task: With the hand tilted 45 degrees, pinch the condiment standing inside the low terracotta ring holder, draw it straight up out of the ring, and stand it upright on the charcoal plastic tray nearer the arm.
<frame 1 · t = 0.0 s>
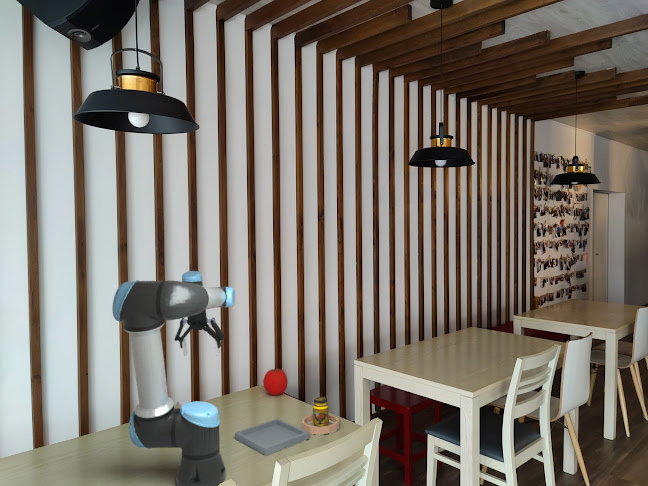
hand: (201, 354, 200), 28 cm above the table, tool tilted 20°, fingers open, 13 cm apart
tray: (272, 439, 181), on the table
tomato: (275, 395, 233), on the table
white carton: (180, 428, 193), on the table
condiment: (320, 428, 191), resting in ring holder
ring holder: (320, 427, 191), on the table
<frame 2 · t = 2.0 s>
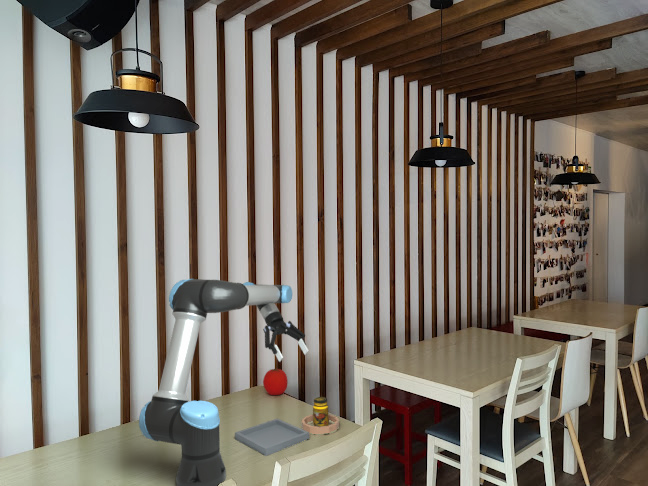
hand: (294, 356, 201), 26 cm above the table, tool tilted 45°, fingers open, 13 cm apart
nothing on the table moved.
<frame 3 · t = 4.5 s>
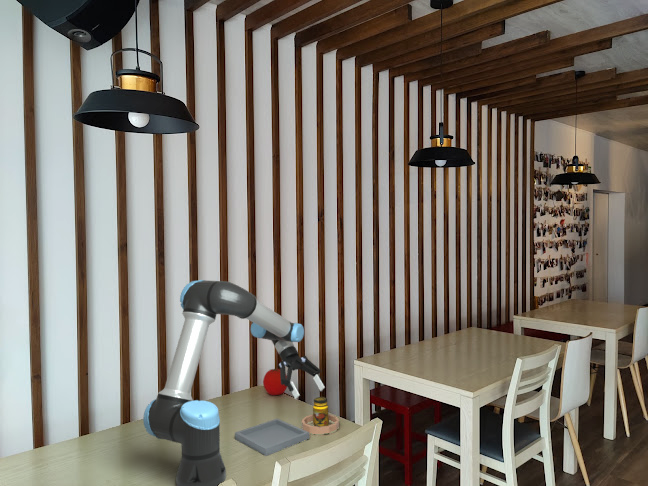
hand: (310, 393, 196), 12 cm above the table, tool tilted 45°, fingers open, 13 cm apart
nothing on the table moved.
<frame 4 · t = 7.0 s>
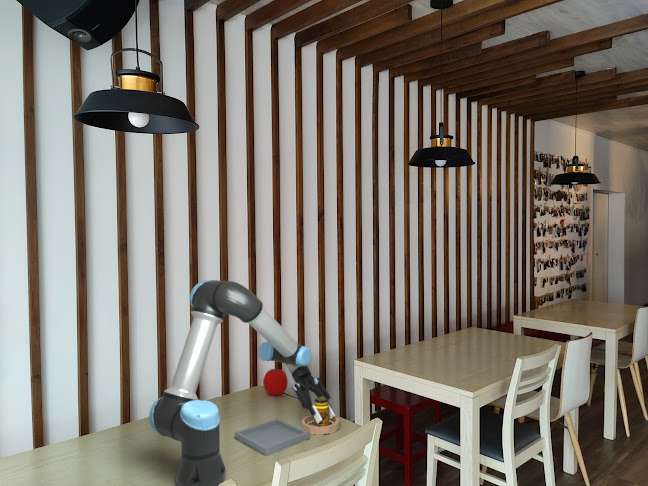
hand: (326, 419, 188), 4 cm above the table, tool tilted 45°, fingers closed on condiment, 6 cm apart
condiment: (320, 428, 191), resting in ring holder, touching gripper
everything else where it was.
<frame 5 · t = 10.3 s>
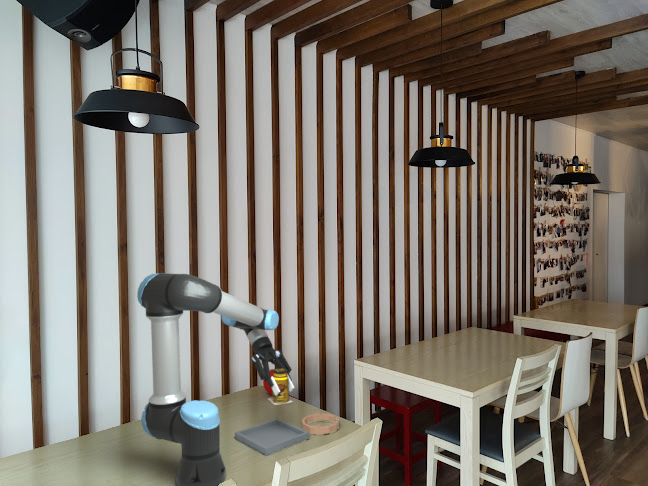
hand: (285, 391, 180), 18 cm above the table, tool tilted 45°, fingers closed on condiment, 6 cm apart
condiment: (280, 401, 183), point 14 cm above the table, touching gripper
everything else where it was.
when the fingers open (7 cm above the table, at t = 13.2 s): condiment drops 1 cm, resting on tray.
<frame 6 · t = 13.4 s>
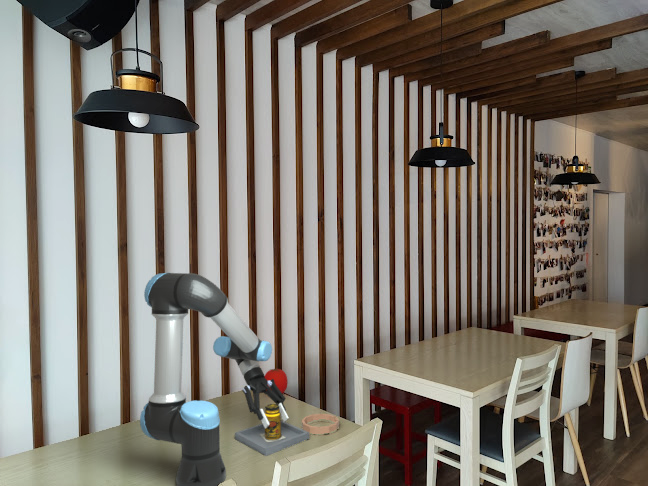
hand: (277, 423, 178), 7 cm above the table, tool tilted 45°, fingers open, 8 cm apart
condiment: (272, 437, 181), point 1 cm above the table, touching tray
everything else where it was.
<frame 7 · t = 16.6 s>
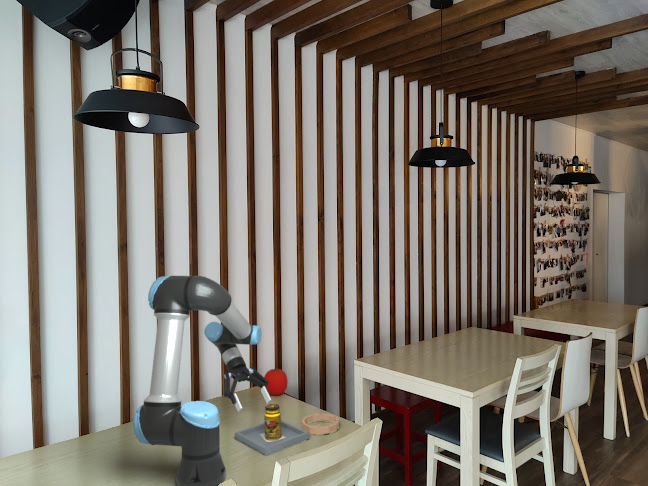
hand: (255, 406, 189), 10 cm above the table, tool tilted 45°, fingers open, 13 cm apart
nothing on the table moved.
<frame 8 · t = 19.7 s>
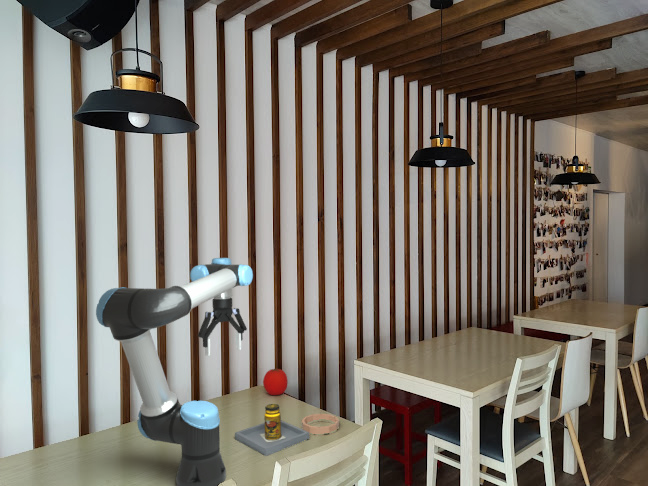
hand: (223, 352, 186), 32 cm above the table, tool pointing down, fingers open, 13 cm apart
nothing on the table moved.
at the end: condiment inside the target area on the tray (0.3 cm from its centre), point 0.6 cm above the tray's base; condiment tilted 0°; the gripper is holding nothing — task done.
